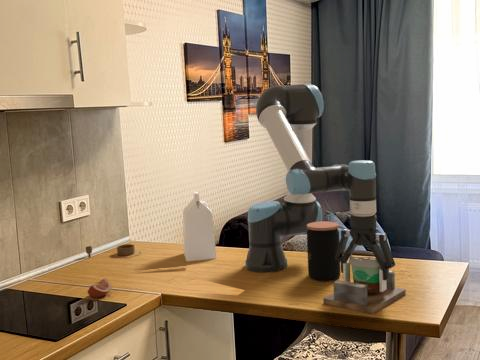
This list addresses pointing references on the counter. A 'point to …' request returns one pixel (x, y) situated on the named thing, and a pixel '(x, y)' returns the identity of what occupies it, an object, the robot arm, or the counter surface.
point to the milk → (198, 231)
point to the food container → (366, 272)
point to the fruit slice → (99, 288)
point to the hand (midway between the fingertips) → (364, 287)
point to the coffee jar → (323, 250)
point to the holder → (363, 296)
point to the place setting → (118, 250)
